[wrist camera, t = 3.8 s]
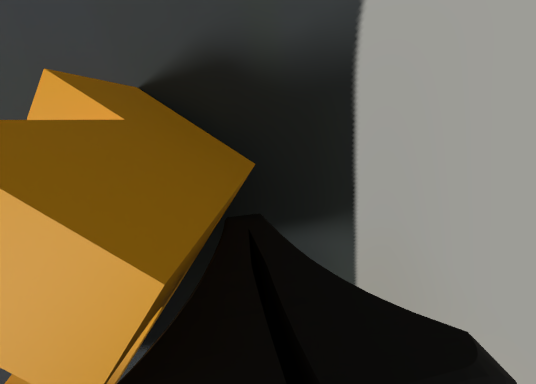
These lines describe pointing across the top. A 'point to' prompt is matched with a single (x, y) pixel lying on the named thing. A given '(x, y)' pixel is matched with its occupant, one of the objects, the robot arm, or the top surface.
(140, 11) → the top surface
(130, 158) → the pipe clamp
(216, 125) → the top surface
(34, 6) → the top surface
